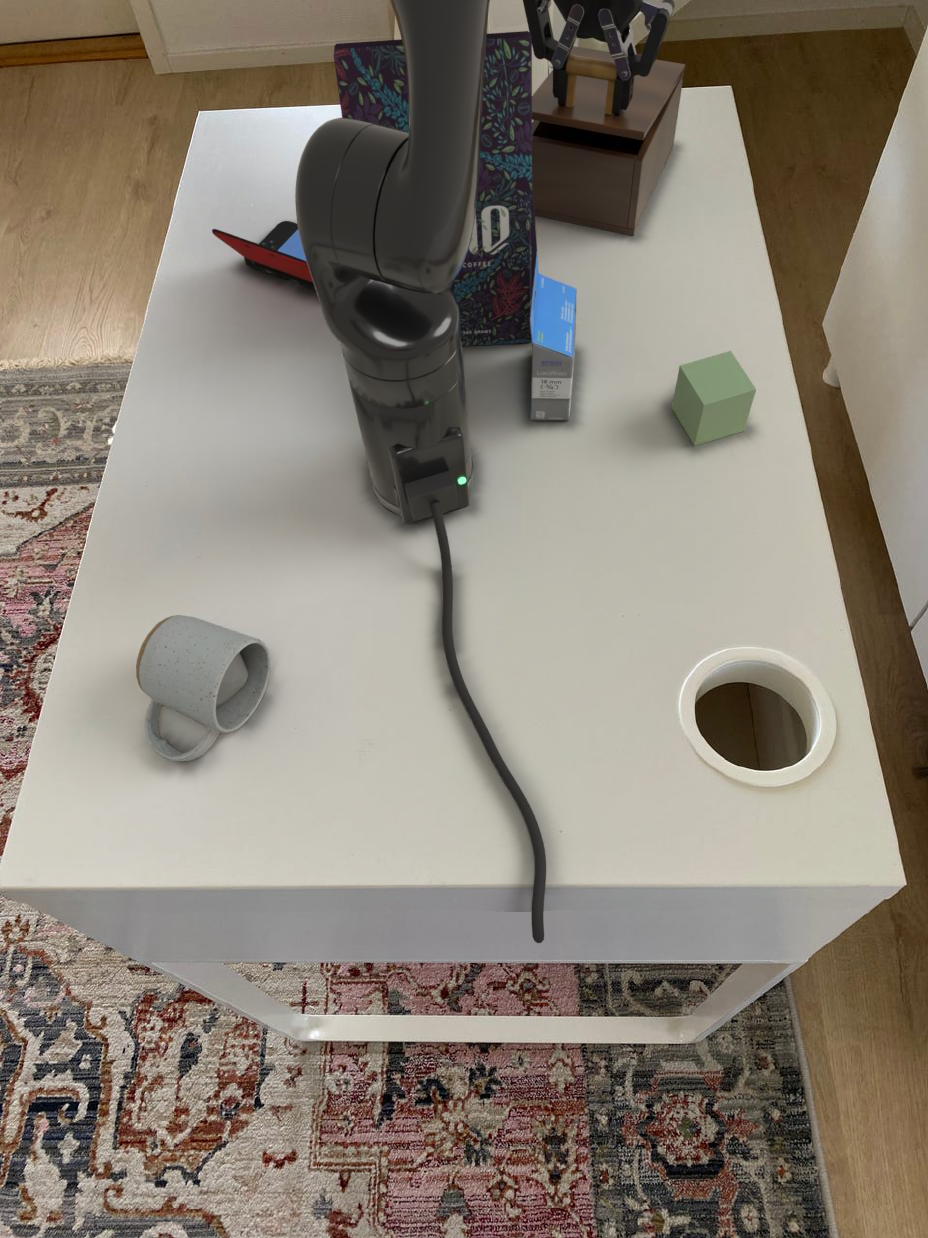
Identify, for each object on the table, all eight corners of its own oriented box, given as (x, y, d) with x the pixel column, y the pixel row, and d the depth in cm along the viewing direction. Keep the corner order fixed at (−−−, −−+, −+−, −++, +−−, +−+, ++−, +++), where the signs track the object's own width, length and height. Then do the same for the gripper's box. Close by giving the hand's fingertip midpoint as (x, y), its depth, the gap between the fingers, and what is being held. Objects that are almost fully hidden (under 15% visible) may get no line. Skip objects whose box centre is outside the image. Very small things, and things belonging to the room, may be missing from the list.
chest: (633, 236, 101) (642, 160, 93) (523, 212, 104) (522, 138, 96) (673, 148, 108) (684, 72, 100) (568, 129, 110) (571, 53, 103)
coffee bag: (537, 346, 94) (541, 64, 69) (373, 354, 94) (320, 78, 70) (533, 288, 98) (535, 3, 73) (376, 297, 98) (327, 17, 74)
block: (744, 431, 87) (756, 389, 82) (694, 446, 86) (704, 405, 82) (719, 393, 89) (730, 350, 84) (671, 407, 89) (679, 365, 84)
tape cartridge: (570, 423, 89) (576, 323, 78) (529, 421, 89) (529, 321, 78) (574, 354, 93) (580, 250, 82) (534, 352, 93) (535, 249, 82)
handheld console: (379, 259, 101) (369, 198, 95) (323, 323, 97) (308, 264, 90) (285, 225, 105) (269, 164, 98) (227, 286, 101) (206, 227, 94)
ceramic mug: (197, 635, 79) (165, 590, 73) (281, 667, 77) (256, 623, 71) (128, 745, 75) (88, 707, 68) (216, 782, 73) (183, 747, 66)
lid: (643, 140, 91) (652, 80, 86) (520, 117, 93) (523, 58, 89) (684, 71, 100) (694, 14, 96) (571, 53, 103) (575, -3, 98)
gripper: (506, -78, 78) (510, 115, 93) (675, -56, 75) (651, 141, 90) (536, -123, 81) (536, 71, 96) (699, -103, 78) (673, 94, 93)
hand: (592, 104), depth 93 cm, fingers closed on lid, 5 cm apart
